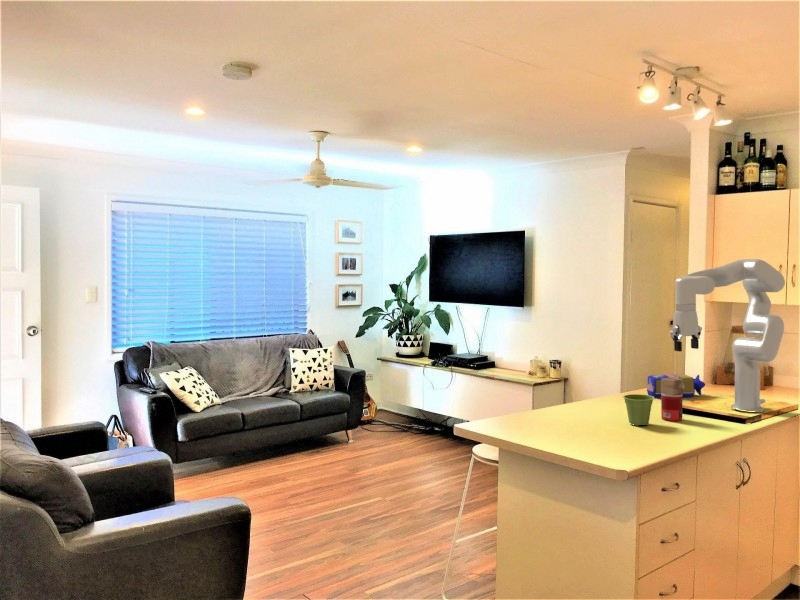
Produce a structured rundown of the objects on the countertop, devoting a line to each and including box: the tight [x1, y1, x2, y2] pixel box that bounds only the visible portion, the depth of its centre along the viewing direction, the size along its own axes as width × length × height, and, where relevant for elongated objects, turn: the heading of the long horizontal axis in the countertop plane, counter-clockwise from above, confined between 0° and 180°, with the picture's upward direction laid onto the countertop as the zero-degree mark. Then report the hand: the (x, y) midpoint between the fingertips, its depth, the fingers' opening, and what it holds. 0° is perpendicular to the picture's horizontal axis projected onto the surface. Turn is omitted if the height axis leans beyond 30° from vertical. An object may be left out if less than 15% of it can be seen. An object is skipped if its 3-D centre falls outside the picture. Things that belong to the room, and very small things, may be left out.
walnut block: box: [661, 377, 683, 396], centre depth 259 cm, size 6×6×6 cm
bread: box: [646, 373, 706, 399], centre depth 303 cm, size 10×25×10 cm, turn 90°
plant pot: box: [622, 393, 655, 426], centre depth 254 cm, size 12×12×11 cm
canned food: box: [660, 393, 683, 423], centre depth 260 cm, size 8×8×11 cm
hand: (686, 349), depth 257 cm, fingers open, 9 cm apart
